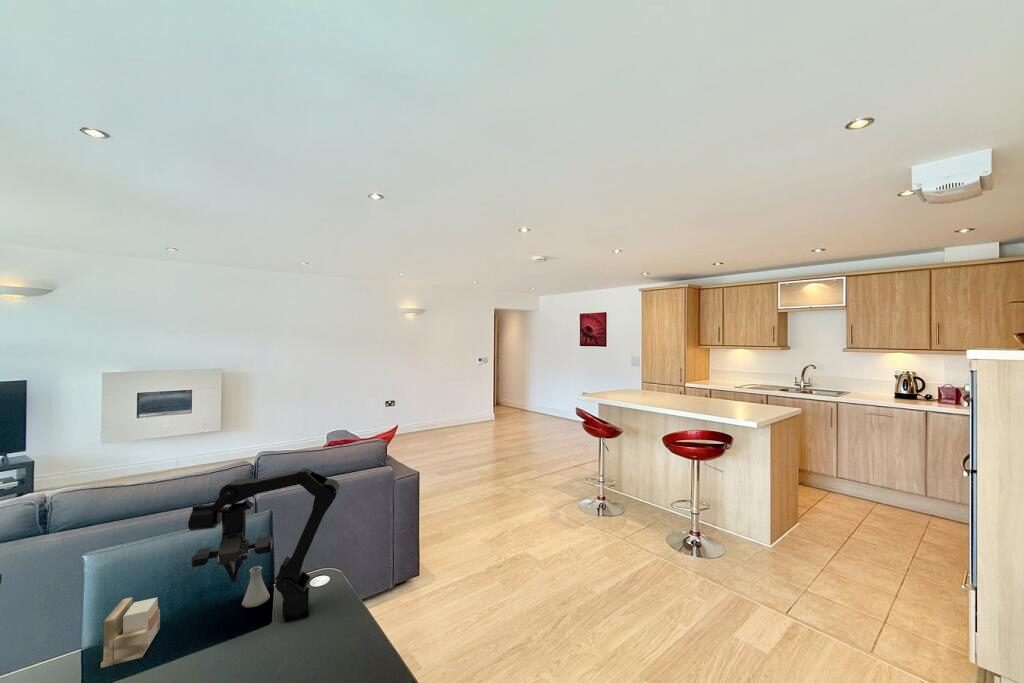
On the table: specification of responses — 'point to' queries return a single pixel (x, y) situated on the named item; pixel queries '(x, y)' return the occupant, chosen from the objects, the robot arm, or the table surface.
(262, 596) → the flask
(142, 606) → the white box
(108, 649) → the beige toy armchair
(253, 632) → the table surface
